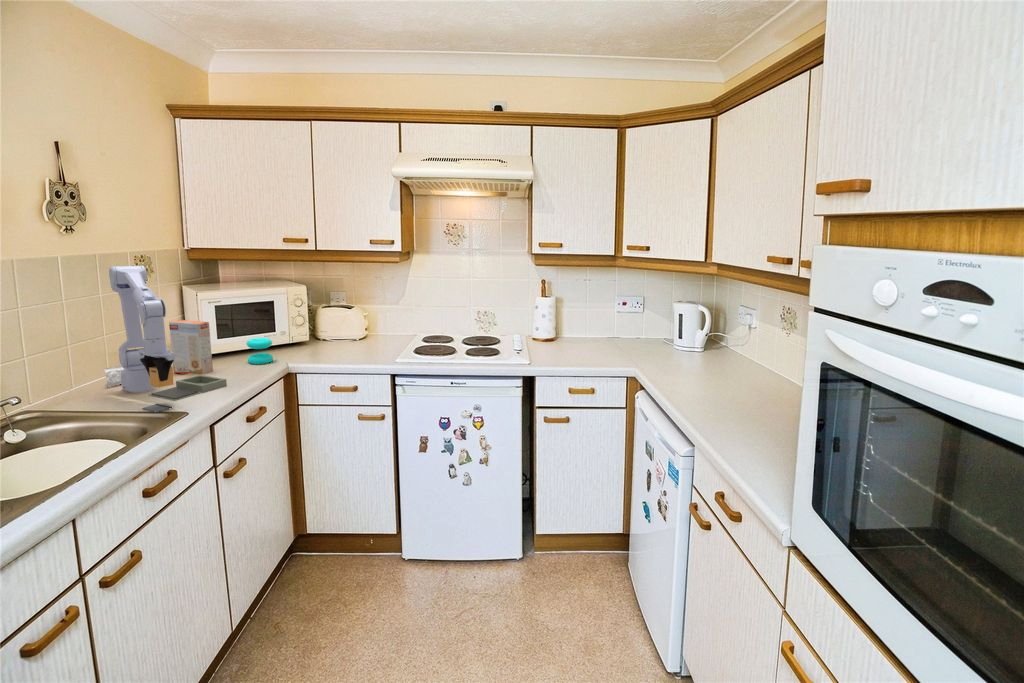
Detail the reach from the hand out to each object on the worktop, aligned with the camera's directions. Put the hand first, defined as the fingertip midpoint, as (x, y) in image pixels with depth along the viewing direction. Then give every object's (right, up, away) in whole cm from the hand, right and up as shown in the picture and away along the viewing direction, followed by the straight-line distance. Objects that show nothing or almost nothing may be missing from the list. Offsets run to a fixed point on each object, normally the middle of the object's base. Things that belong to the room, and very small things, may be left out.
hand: (159, 379), depth 184 cm
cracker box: (-13, -1, +43) cm, 45 cm away
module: (0, -2, +1) cm, 2 cm away
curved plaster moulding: (-23, -4, +25) cm, 34 cm away
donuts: (+5, +3, +64) cm, 64 cm away
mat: (0, -9, +2) cm, 9 cm away
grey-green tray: (0, -6, +18) cm, 19 cm away
